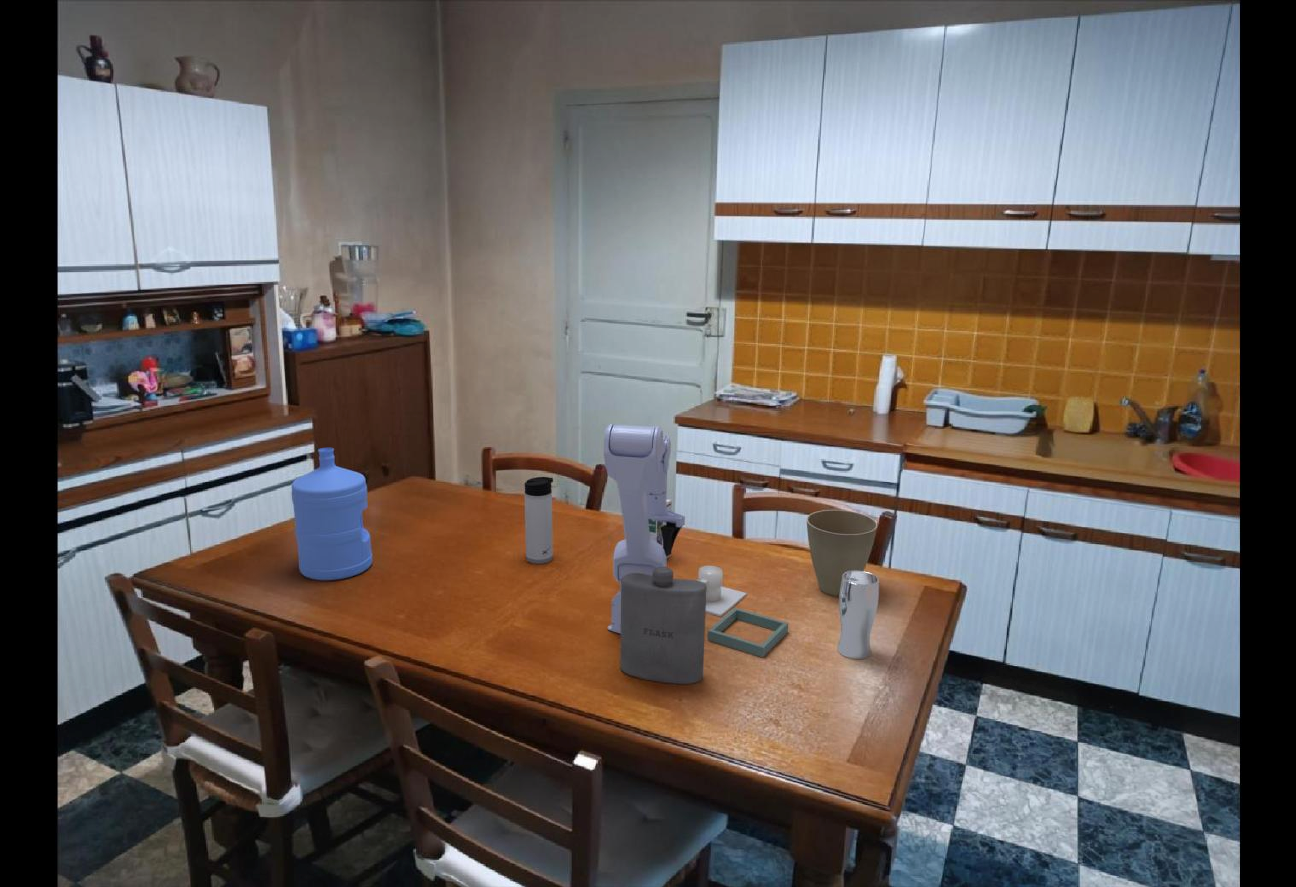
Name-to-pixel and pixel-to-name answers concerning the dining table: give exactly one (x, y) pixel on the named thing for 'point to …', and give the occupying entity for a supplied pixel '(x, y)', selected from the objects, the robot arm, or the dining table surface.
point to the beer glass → (857, 612)
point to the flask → (662, 627)
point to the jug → (711, 582)
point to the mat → (724, 601)
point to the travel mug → (538, 520)
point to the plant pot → (839, 545)
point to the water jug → (331, 521)
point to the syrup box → (658, 527)
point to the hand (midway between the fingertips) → (651, 551)
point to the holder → (745, 645)
